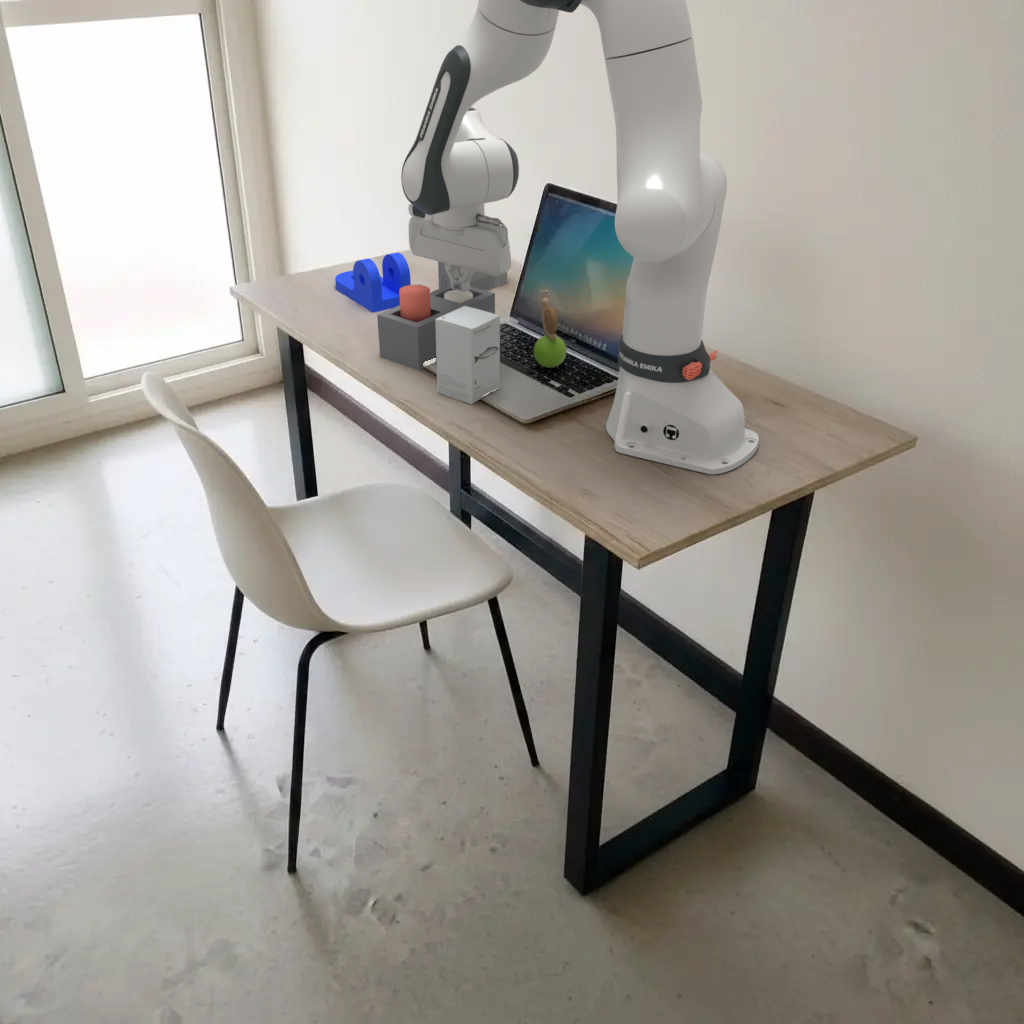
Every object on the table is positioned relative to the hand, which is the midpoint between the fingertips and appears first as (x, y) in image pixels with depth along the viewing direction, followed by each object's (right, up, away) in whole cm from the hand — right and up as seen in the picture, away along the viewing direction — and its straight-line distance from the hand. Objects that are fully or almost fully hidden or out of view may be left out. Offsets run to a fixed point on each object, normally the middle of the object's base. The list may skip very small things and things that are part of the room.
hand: (460, 289), depth 182 cm
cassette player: (+1, +4, +23) cm, 24 cm away
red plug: (-7, -7, -6) cm, 12 cm away
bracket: (-19, +3, +22) cm, 29 cm away
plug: (0, -6, +4) cm, 8 cm away
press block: (-4, -9, +1) cm, 10 cm away
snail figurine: (+15, -14, -6) cm, 22 cm away
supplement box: (+2, -19, -15) cm, 24 cm away
